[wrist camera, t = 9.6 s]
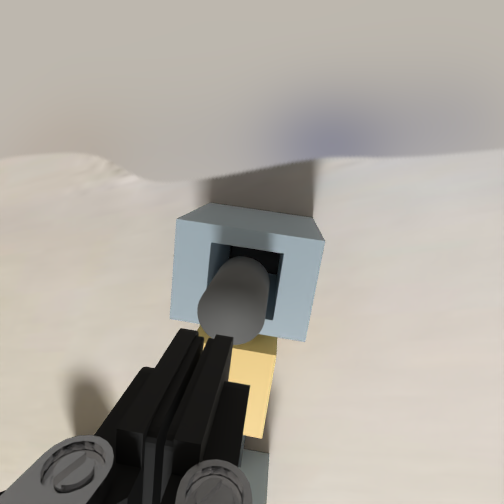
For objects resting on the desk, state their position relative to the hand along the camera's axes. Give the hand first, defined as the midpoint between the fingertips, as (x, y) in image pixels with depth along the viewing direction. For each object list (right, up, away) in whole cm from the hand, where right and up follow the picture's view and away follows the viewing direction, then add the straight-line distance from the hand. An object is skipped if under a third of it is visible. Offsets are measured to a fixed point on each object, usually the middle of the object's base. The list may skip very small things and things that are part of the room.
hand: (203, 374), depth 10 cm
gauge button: (+1, +2, +8) cm, 8 cm away
